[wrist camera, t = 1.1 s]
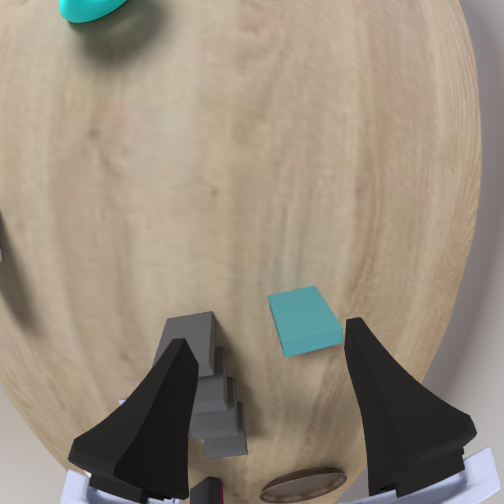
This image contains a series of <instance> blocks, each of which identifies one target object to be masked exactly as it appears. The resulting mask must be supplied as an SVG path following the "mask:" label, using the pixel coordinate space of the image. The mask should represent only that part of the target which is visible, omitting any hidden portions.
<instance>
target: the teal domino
mask: <svg viewBox="0 0 504 504" xmlns="http://www.w3.org/2000/svg"><path fill="white" fill-rule="evenodd" d="M268 299H269V304H270V310H271V313H272V316H273V320H274V323H275V327H276V330H277V334H278V337H279V340H280V344H281V347H282V351H283V354H284V358H285V357H289V356H294V355H298V354H302V353H306V352H310V351H314V350H318V349H322V348H325V347H329V346H333V345H336V344H340V343H343V328H342V326H341V324H340V323H339V321H338V320H337V318H336V317H335V315H334V314H333V312H332V311H331V309H330V308H329V306H328V305H327V303H326V302H325V300H324V299H323V297H322V296H321V294H320V293H319V291H318V290H317V288H316V287H315V286H311V287H307V288H302V289H298V290H293V291H289V292H284V293H280V294H275V295H270V296H268Z"/></svg>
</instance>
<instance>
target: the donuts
mask: <svg viewBox="0 0 504 504" xmlns="http://www.w3.org/2000/svg"><path fill="white" fill-rule="evenodd" d="M125 1H127V0H60V2H59V10H60V13H61V15H62V16H63V18H65V19H66V20H68V21H70V22H75V23H82V22H88V21H92V20H95V19H98V18H100V17H102V16H105V15H107V14H108V13H110V12H112V11H113V10H115V9H116V8H118V7H119V6H121V5H122V4H123V3H124V2H125Z"/></svg>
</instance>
